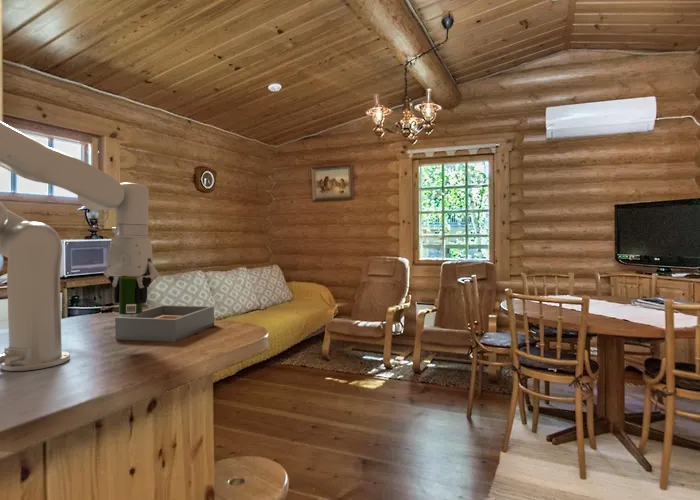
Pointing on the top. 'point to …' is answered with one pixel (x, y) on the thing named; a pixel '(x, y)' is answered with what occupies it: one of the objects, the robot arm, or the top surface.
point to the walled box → (165, 323)
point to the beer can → (128, 297)
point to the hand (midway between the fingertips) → (130, 302)
